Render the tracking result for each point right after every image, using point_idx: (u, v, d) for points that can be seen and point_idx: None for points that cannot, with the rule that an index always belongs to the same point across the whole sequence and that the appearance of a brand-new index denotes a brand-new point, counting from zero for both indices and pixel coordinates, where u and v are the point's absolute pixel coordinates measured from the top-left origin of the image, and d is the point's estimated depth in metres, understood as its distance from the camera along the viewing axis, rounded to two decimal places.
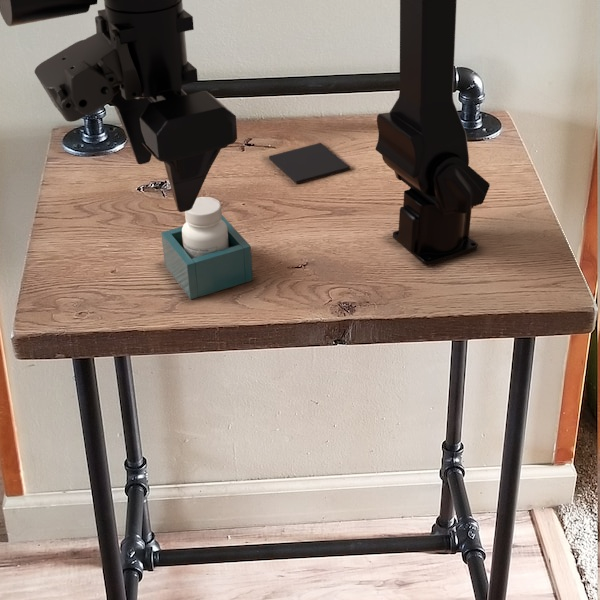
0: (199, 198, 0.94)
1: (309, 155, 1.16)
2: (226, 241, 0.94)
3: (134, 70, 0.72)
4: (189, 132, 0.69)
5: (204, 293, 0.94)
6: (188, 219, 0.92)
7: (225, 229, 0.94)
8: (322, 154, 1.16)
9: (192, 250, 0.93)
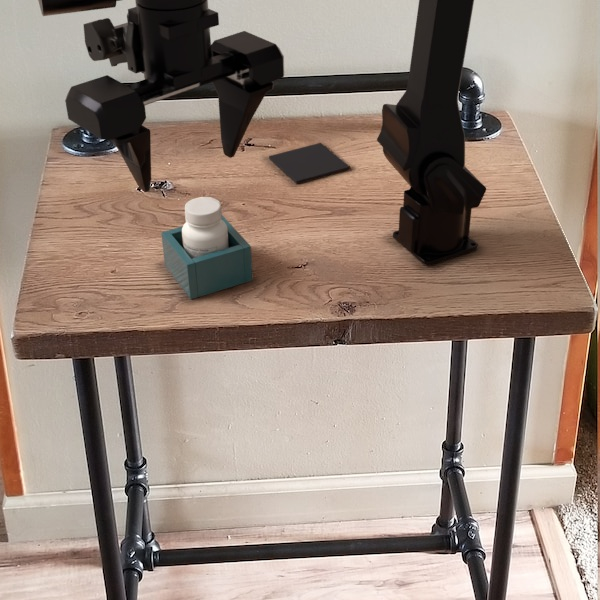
0: (199, 198, 0.94)
1: (309, 155, 1.16)
2: (226, 241, 0.94)
3: (131, 48, 0.80)
4: (76, 105, 0.77)
5: (204, 293, 0.94)
6: (188, 219, 0.92)
7: (225, 229, 0.94)
8: (322, 154, 1.16)
9: (192, 250, 0.93)
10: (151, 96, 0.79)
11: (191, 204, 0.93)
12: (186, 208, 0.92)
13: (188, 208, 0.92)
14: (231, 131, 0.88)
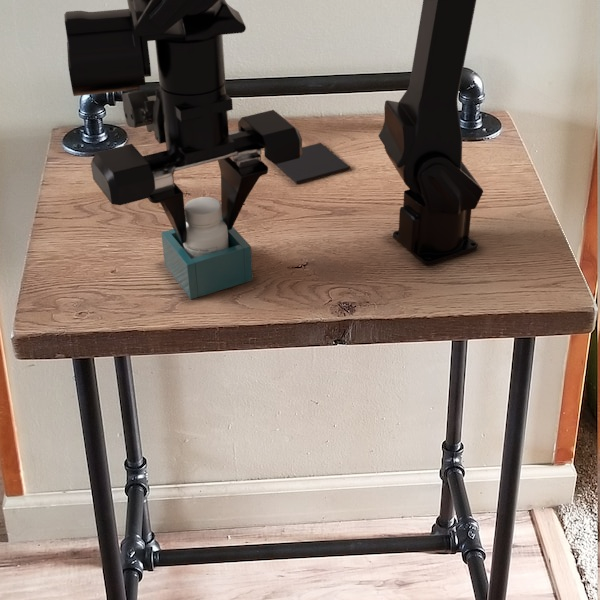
0: (199, 198, 0.94)
1: (309, 155, 1.16)
2: (226, 241, 0.94)
3: (156, 121, 0.88)
4: (96, 170, 0.86)
5: (204, 293, 0.94)
6: (188, 219, 0.92)
7: (225, 229, 0.94)
8: (322, 154, 1.16)
9: (192, 250, 0.93)
10: (166, 167, 0.87)
11: (191, 204, 0.93)
12: (186, 208, 0.92)
13: (188, 208, 0.92)
14: (228, 207, 0.93)
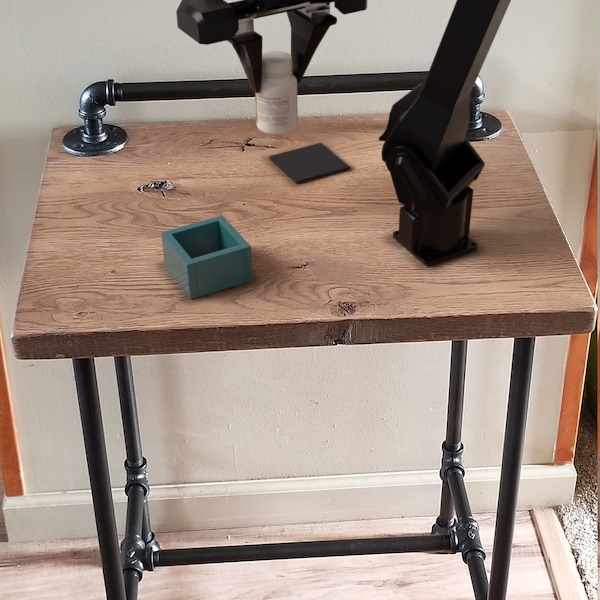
0: (271, 52, 1.01)
1: (309, 155, 1.16)
2: (296, 92, 1.02)
3: None
4: (183, 15, 0.93)
5: (204, 293, 0.94)
6: (262, 69, 1.00)
7: (295, 80, 1.01)
8: (322, 154, 1.16)
9: (266, 100, 1.01)
10: (246, 13, 0.94)
11: (264, 56, 1.00)
12: None
13: (262, 59, 1.00)
14: (298, 59, 1.01)
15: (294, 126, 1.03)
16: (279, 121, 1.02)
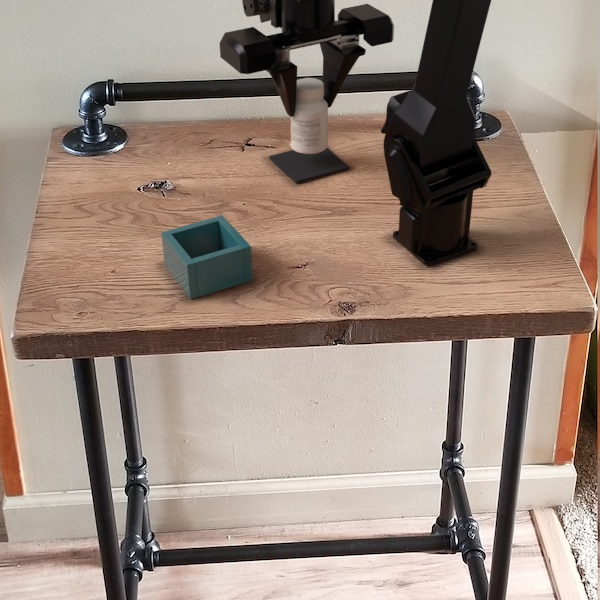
0: (304, 79, 1.10)
1: (309, 155, 1.16)
2: (327, 116, 1.11)
3: (273, 8, 1.05)
4: (226, 46, 1.03)
5: (204, 293, 0.94)
6: (296, 95, 1.09)
7: (326, 105, 1.10)
8: (322, 154, 1.16)
9: (299, 122, 1.10)
10: (283, 45, 1.04)
11: (298, 83, 1.10)
12: None
13: None
14: (329, 86, 1.10)
15: (324, 146, 1.13)
16: (311, 141, 1.11)
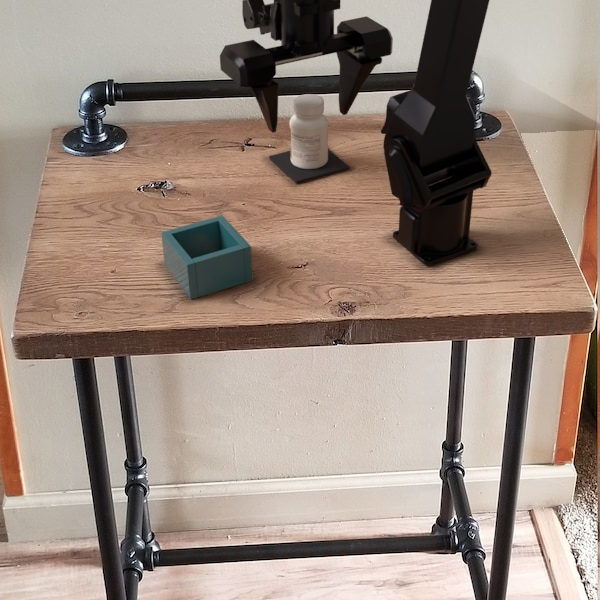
0: (304, 95, 1.12)
1: None
2: (327, 131, 1.12)
3: (273, 21, 1.06)
4: (226, 59, 1.04)
5: (204, 293, 0.94)
6: (297, 111, 1.10)
7: (326, 121, 1.12)
8: None
9: (299, 138, 1.11)
10: (283, 58, 1.05)
11: (299, 99, 1.11)
12: (295, 102, 1.10)
13: (296, 102, 1.10)
14: (346, 94, 1.12)
15: (324, 162, 1.14)
16: (311, 157, 1.12)
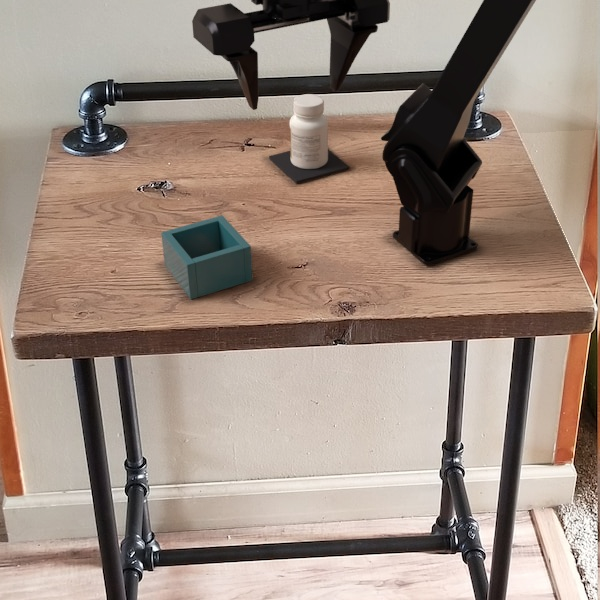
0: (304, 95, 1.12)
1: None
2: (327, 131, 1.12)
3: None
4: (198, 25, 0.91)
5: (204, 293, 0.94)
6: (297, 111, 1.10)
7: (326, 121, 1.12)
8: None
9: (299, 138, 1.11)
10: (263, 24, 0.92)
11: (298, 99, 1.11)
12: (295, 102, 1.10)
13: (296, 102, 1.10)
14: (337, 67, 0.99)
15: (324, 162, 1.14)
16: (311, 157, 1.12)
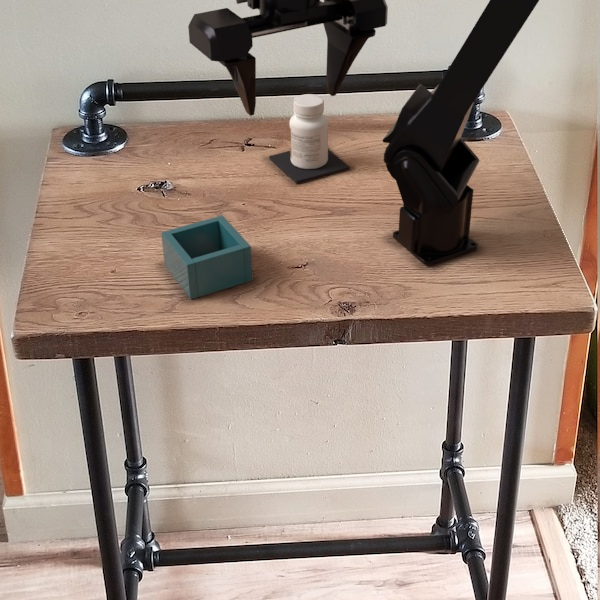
0: (304, 95, 1.12)
1: None
2: (327, 131, 1.12)
3: None
4: (195, 30, 0.90)
5: (204, 293, 0.94)
6: (297, 111, 1.10)
7: (326, 121, 1.12)
8: None
9: (299, 138, 1.11)
10: (261, 29, 0.91)
11: (298, 99, 1.11)
12: (295, 102, 1.10)
13: (296, 102, 1.10)
14: (334, 71, 0.98)
15: (324, 162, 1.14)
16: (311, 157, 1.12)
